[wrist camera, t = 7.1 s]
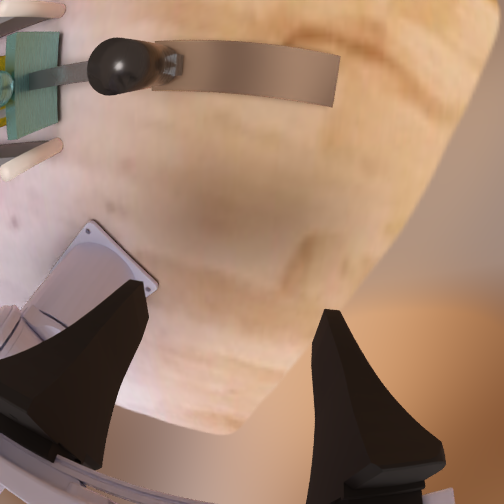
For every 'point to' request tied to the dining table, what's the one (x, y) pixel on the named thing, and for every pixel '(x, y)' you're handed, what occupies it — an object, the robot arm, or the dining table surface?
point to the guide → (255, 70)
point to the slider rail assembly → (74, 75)
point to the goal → (3, 22)
